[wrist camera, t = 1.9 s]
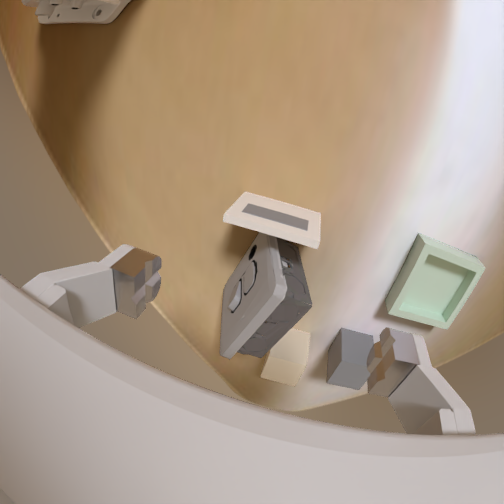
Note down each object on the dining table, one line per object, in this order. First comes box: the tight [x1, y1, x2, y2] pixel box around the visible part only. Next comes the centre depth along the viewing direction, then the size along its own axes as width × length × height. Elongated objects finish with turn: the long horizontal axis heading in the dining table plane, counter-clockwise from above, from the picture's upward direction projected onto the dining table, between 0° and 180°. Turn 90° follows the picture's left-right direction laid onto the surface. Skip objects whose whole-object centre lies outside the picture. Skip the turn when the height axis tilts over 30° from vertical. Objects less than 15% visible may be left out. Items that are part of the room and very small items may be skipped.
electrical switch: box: [220, 232, 312, 360], centre depth 25 cm, size 9×5×9 cm, turn 151°
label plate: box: [223, 192, 321, 249], centre depth 23 cm, size 7×1×6 cm, turn 78°
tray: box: [385, 233, 485, 329], centre depth 24 cm, size 8×8×2 cm
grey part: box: [327, 328, 374, 390], centre depth 29 cm, size 4×4×5 cm
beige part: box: [260, 328, 311, 387], centre depth 30 cm, size 4×4×5 cm
